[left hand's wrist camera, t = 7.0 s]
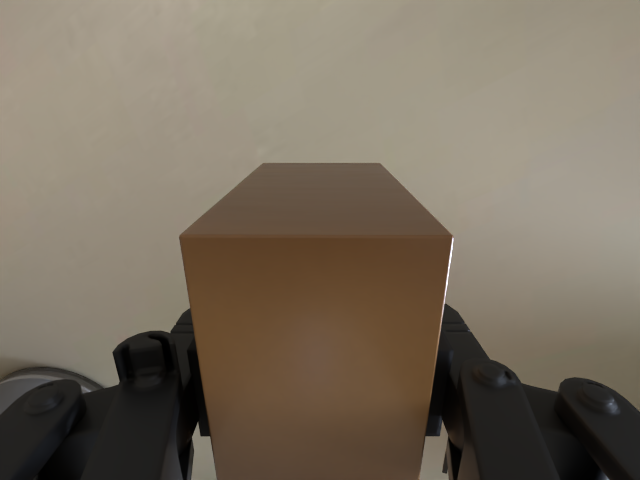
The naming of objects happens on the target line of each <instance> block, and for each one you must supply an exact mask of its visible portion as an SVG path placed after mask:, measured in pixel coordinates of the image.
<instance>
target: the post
mask: <svg viewBox="0 0 640 480" xmlns="http://www.w3.org/2000/svg"><path fill="white" fill-rule="evenodd" d="M179 239H180V245H181V251H182V258H183V264H184V271H185V277H186V283H187V290H188V296H189V303H190V309H191V316H192V322H193V328H194V335H195V341H196V348H197V354H198V360H199V367H200V373H201V380H202V386H203V393H204V399H205V405H206V412H207V418H208V425H209V431H210V437H211V444H212V450H213V457H214V463H215V470H216V476H217V480H419V477H420V470H421V463H422V456H423V449H424V442H425V435H426V428H427V421H428V414H429V407H430V400H431V393H432V386H433V380H434V373H435V366H436V359H437V352H438V345H439V338H440V331H441V324H442V317H443V310H444V303H445V296H446V289H447V282H448V275H449V268H450V261H451V254H452V247H453V240H454V237H453V235H452V234H451V233H450V232H449V231H448V230H447V229H446V228H445V227H444V226H443V225H442V224H441V223H440V222H439V221H438V220H437V219H436V218H435V217H434V216H433V215H432V214H431V213H430V212H429V211H428V210H427V209H426V208H425V207H424V206H423V205H422V204H421V203H420V202H419V201H418V200H417V199H416V198H415V197H414V196H413V195H412V194H411V193H410V192H409V191H408V190H407V189H406V188H405V187H404V186H403V185H402V184H401V183H400V182H399V181H398V180H397V179H396V178H395V177H394V176H393V175H392V174H391V173H390V172H389V171H388V170H387V169H386V168H385V167H383V166H382V165H381V164H380V163H263V164H262V165H260V166H259V167H258V168H257V169H256V170H255V171H253V172H252V173H251V174H250V175H249V176H248V177H246V178H245V179H244V180H243V181H242V182H241V183H240V184H238V185H237V186H236V187H235V188H234V189H233V190H231V191H230V192H229V193H228V194H227V195H226V196H224V197H223V198H222V199H221V200H220V201H219V202H218V203H216V204H215V205H214V206H213V207H212V208H211V209H209V210H208V211H207V212H206V213H205V214H204V215H202V216H201V217H200V218H199V219H198V220H197V221H196V222H194V223H193V224H192V225H191V226H190V227H189V228H187V229H186V230H185V231H184V232H183V233H182V234H180V237H179Z"/></svg>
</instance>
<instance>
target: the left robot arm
mask: <svg viewBox="0 0 640 480" xmlns="http://www.w3.org/2000/svg"><path fill="white" fill-rule="evenodd" d="M113 356H114V360H115V364H116V368H117V372H118V376H119V380H120V382H119V385H116V386H113V387H109V388H105V389H104V388H103V387H101V386H100V385H99V384H97V383H95V382H94V381H92V380H90V379H88V378H86V377H84V376H81V375H79V374H76V373H73V372H70V371H66V370H62V369H57V368H47V367H36V368H27V369H23V370H19V371H16V372H14V373H11V374H9V375H8V376H6V377H4V378H3V379H2V380H1V381H0V480H191V475H192V465H193V456H194V448H193V441H192V435H193V433H194V430H195V428H196V425H197V423H199V429H200V435H201V436H210V431H209V425H208V418H207V412H206V405H205V399H204V393H203V386H202V380H201V373H200V367H199V360H198V354H197V348H196V341H195V335H194V328H193V322H192V316H191V309H188V310H187V311H185V312H184V313H183V314H182V315H181V317H180V318H179V320H178V321H177V323H176V325H175V326H174V327H173V329H172V330H171V333H168V332H164V331H148V332H144V333H140V334H137V335H134V336H132V337H130V338H127V339H126V340H125V341H123V342H122V343H120V344H119V345H118V346H117V347H116V348H115V350H114V351H113ZM442 420H443V423H444V425H445V428H446V430H447V433H448V441H447V447H446V452H445V458H444V464H443V471H442V472H443V473H447V470H448V474H449V480H640V412H639V411H638V410H637V409H636V408H635V407H634V406H633V405H632V404H631V403H630V402H629V401H627V400H626V399H625V398H624V397H622V396H621V395H620V394H619V393H617V392H616V391H615V390H613V389H611V388H609V387H607V386H605V385H603V384H601V383H598V382H595V381H592V380H589V379H584V378H576V377H574V378H568V379H565V380H564V381H563V382H561V383H560V386H559V390H558V392H555V391H551V390H547V389H542V388H538V387H533V386H529V385H526V384H523V383H521V382H520V380H519V379H518V377H517V376H516V374H515V373H514V372H513V371H512V370H510V369H509V368H508V367H506V366H505V365H503V364H501V363H499V362H496V361H494V360H490V359H489V357H488V356H487V354H486V353H485V351H484V350H483V348H482V347H481V346H480V344H479V343H478V341H477V340H476V338H475V337H474V335H473V334H472V332H470V329H469V328H468V326H467V325H466V324H465V323H464V321H463V319H462V318H461V316H460V315H459V313H458V312H457V311H455V310H454V309H453V308H451V307H450V306H448V305H447V304H444V310H443V317H442V324H441V331H440V338H439V345H438V352H437V359H436V366H435V373H434V380H433V386H432V393H431V400H430V407H429V414H428V421H427V428H426V435H425V436H440V431H441V425H442Z"/></svg>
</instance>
